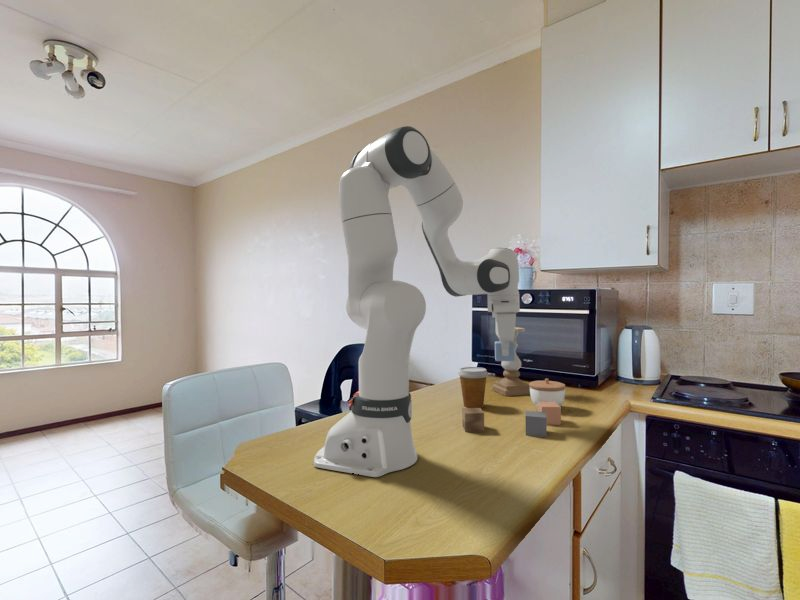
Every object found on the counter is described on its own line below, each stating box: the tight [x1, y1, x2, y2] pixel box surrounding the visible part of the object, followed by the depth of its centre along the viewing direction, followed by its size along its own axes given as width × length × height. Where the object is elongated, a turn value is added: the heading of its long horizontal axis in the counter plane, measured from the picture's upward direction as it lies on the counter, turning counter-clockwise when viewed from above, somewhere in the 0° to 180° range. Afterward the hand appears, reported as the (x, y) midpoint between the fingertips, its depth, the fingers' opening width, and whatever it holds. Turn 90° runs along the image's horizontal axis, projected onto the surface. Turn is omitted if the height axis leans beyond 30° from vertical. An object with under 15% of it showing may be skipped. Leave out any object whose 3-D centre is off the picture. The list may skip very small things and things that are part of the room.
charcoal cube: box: [524, 410, 548, 438], centre depth 100 cm, size 5×5×5 cm
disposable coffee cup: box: [458, 366, 489, 409], centre depth 127 cm, size 10×10×12 cm
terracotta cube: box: [537, 402, 562, 426], centre depth 109 cm, size 5×5×5 cm
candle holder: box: [491, 326, 530, 397], centre depth 145 cm, size 11×11×24 cm
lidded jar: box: [528, 378, 566, 409], centre depth 123 cm, size 11×11×9 cm
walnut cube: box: [461, 407, 485, 433], centre depth 105 cm, size 5×5×5 cm
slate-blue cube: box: [494, 340, 514, 362], centre depth 111 cm, size 5×5×5 cm
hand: (504, 354), depth 111 cm, fingers closed on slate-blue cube, 5 cm apart
